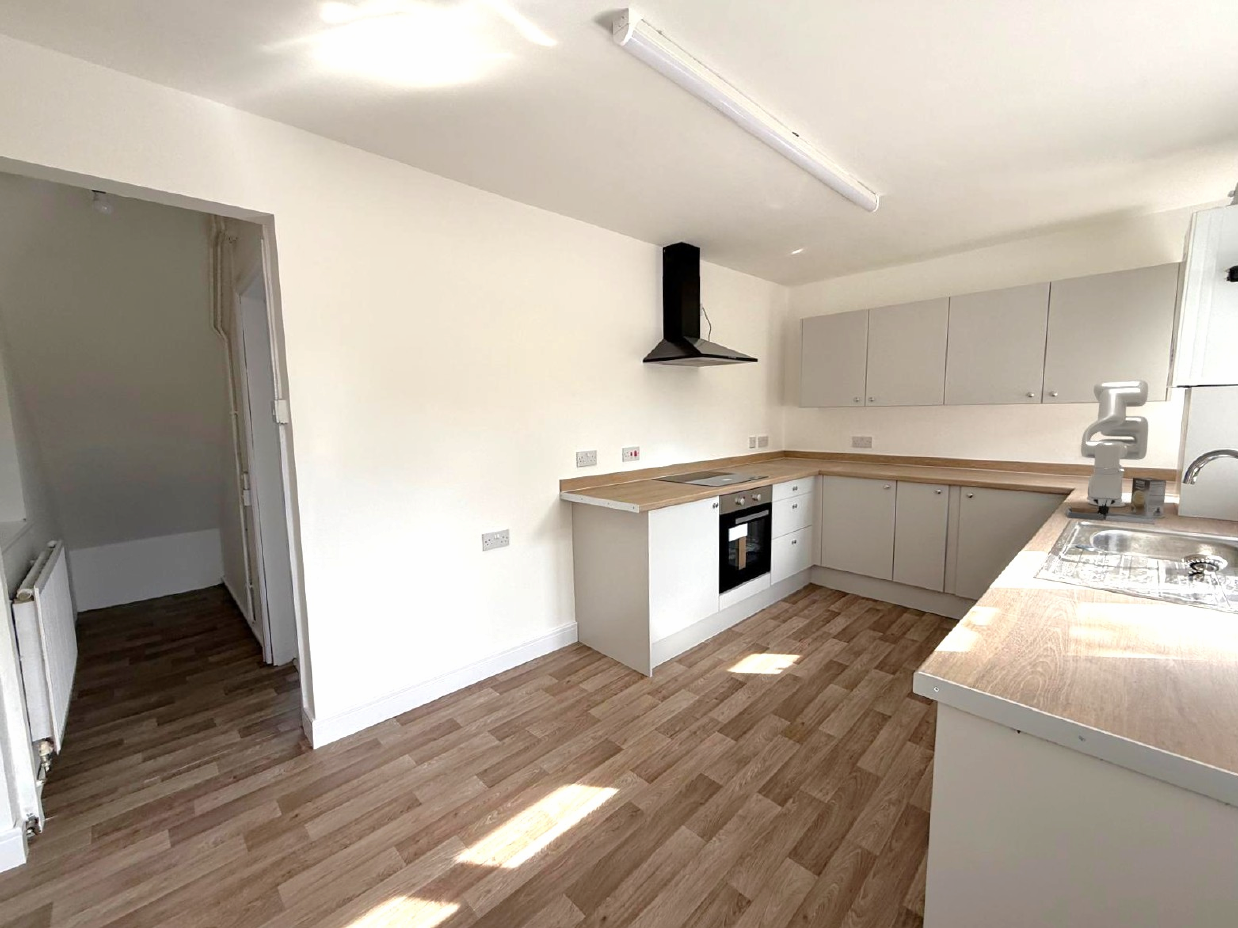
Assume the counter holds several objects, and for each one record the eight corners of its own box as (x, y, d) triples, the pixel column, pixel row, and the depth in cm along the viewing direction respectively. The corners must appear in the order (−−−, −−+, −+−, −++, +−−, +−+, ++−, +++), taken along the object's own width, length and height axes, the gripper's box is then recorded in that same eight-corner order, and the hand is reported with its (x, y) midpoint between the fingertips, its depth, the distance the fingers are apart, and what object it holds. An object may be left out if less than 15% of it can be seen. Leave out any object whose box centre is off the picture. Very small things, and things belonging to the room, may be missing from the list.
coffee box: (1128, 513, 220) (1131, 477, 219) (1146, 514, 219) (1149, 477, 218) (1146, 517, 211) (1149, 480, 210) (1164, 518, 210) (1167, 480, 209)
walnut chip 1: (1070, 515, 220) (1070, 506, 220) (1082, 515, 218) (1083, 506, 217) (1071, 516, 217) (1072, 507, 217) (1083, 517, 215) (1084, 508, 214)
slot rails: (1102, 516, 216) (1102, 512, 216) (1148, 519, 208) (1148, 515, 208) (1105, 520, 209) (1106, 515, 208) (1154, 523, 200) (1154, 519, 200)
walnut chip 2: (1082, 515, 218) (1083, 506, 217) (1095, 516, 215) (1096, 507, 215) (1084, 517, 214) (1084, 508, 214) (1096, 518, 212) (1097, 509, 212)
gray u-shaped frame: (1065, 513, 224) (1065, 507, 224) (1098, 515, 218) (1098, 510, 217) (1068, 517, 215) (1068, 512, 214) (1103, 520, 208) (1103, 514, 208)
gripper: (1129, 471, 209) (1126, 515, 211) (1080, 470, 218) (1078, 511, 220) (1133, 473, 203) (1129, 518, 205) (1083, 471, 212) (1080, 514, 214)
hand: (1103, 514), depth 212 cm, fingers closed
